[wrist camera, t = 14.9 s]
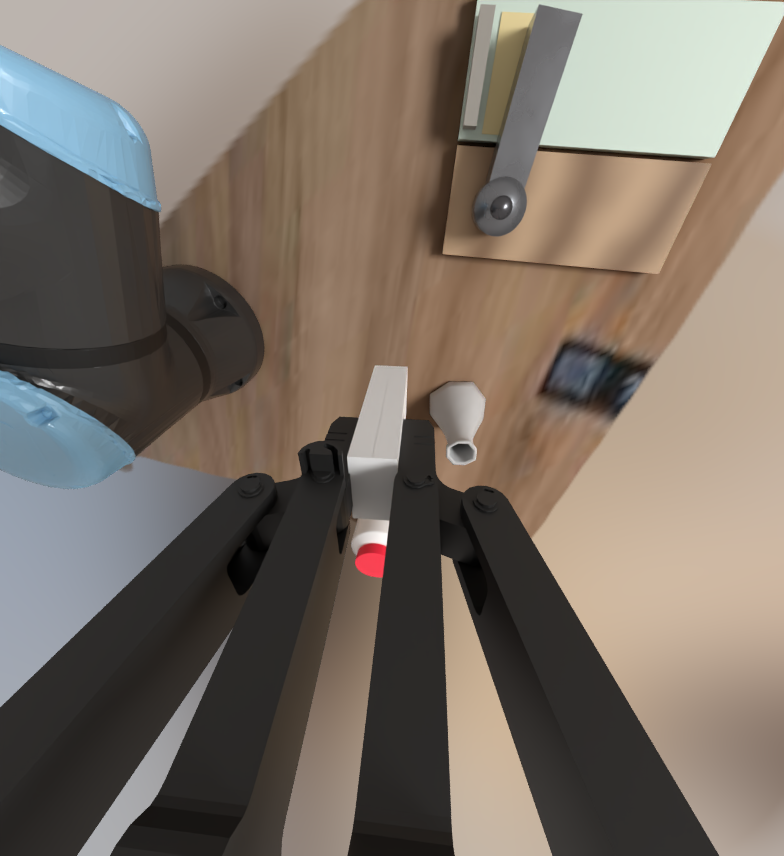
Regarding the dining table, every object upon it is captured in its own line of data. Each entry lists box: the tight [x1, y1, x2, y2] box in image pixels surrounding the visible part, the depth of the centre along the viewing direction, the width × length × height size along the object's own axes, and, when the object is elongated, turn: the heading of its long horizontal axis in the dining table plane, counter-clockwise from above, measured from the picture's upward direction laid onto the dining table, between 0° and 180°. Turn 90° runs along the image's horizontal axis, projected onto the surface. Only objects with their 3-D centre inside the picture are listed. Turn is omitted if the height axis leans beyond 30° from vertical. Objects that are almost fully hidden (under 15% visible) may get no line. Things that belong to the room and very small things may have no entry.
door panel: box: [458, 0, 784, 159], centre depth 24 cm, size 20×8×3 cm, turn 86°
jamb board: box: [442, 145, 711, 274], centre depth 29 cm, size 20×8×1 cm, turn 86°
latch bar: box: [472, 4, 583, 237], centre depth 25 cm, size 12×4×4 cm, turn 170°
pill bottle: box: [351, 519, 389, 577], centre depth 49 cm, size 8×8×11 cm
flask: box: [430, 382, 486, 465], centre depth 38 cm, size 7×7×10 cm
